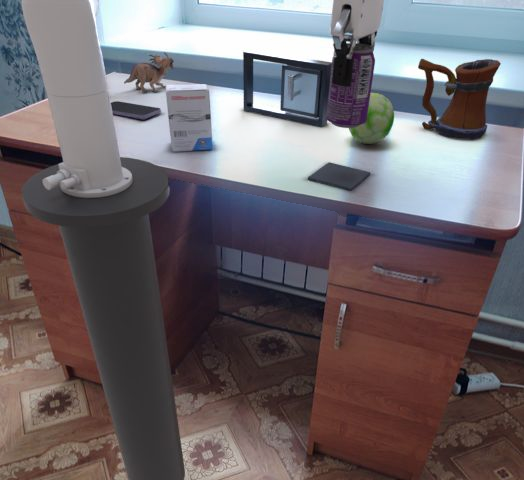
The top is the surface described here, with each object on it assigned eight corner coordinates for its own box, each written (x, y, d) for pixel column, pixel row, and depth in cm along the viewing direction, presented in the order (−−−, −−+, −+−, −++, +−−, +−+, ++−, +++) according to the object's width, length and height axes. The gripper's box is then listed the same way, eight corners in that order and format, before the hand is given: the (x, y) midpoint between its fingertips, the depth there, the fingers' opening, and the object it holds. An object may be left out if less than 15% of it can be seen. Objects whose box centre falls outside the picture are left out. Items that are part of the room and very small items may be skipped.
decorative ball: (340, 135, 114) (345, 87, 108) (382, 134, 115) (391, 87, 108) (350, 151, 107) (356, 100, 100) (395, 150, 108) (405, 100, 101)
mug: (405, 135, 115) (420, 61, 105) (406, 119, 123) (419, 50, 114) (487, 143, 112) (510, 67, 102) (482, 126, 121) (503, 55, 111)
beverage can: (367, 119, 92) (378, 44, 84) (364, 131, 87) (375, 52, 79) (328, 116, 93) (336, 41, 85) (323, 128, 88) (330, 49, 80)
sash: (306, 124, 115) (309, 76, 108) (269, 116, 119) (270, 69, 112) (318, 117, 119) (322, 71, 112) (281, 109, 122) (283, 64, 116)
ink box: (210, 142, 110) (207, 82, 102) (212, 150, 106) (209, 89, 98) (170, 143, 108) (164, 83, 100) (171, 152, 105) (165, 90, 97)
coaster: (351, 191, 92) (351, 188, 92) (307, 179, 95) (307, 177, 95) (370, 174, 98) (370, 172, 97) (328, 164, 101) (328, 162, 101)
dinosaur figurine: (175, 86, 142) (172, 48, 136) (176, 92, 138) (173, 53, 132) (125, 87, 140) (120, 49, 134) (125, 93, 136) (119, 54, 130)
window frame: (321, 127, 118) (327, 65, 110) (243, 110, 127) (243, 51, 118) (327, 123, 120) (333, 62, 112) (249, 107, 129) (250, 49, 120)
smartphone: (116, 100, 129) (162, 108, 123) (116, 105, 129) (163, 113, 124) (95, 107, 124) (143, 116, 118) (96, 112, 124) (143, 121, 119)
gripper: (367, -58, 81) (352, 67, 92) (317, -53, 70) (307, 87, 81) (412, -55, 78) (390, 73, 90) (367, -50, 67) (350, 95, 78)
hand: (351, 79), depth 85 cm, fingers closed on beverage can, 7 cm apart
